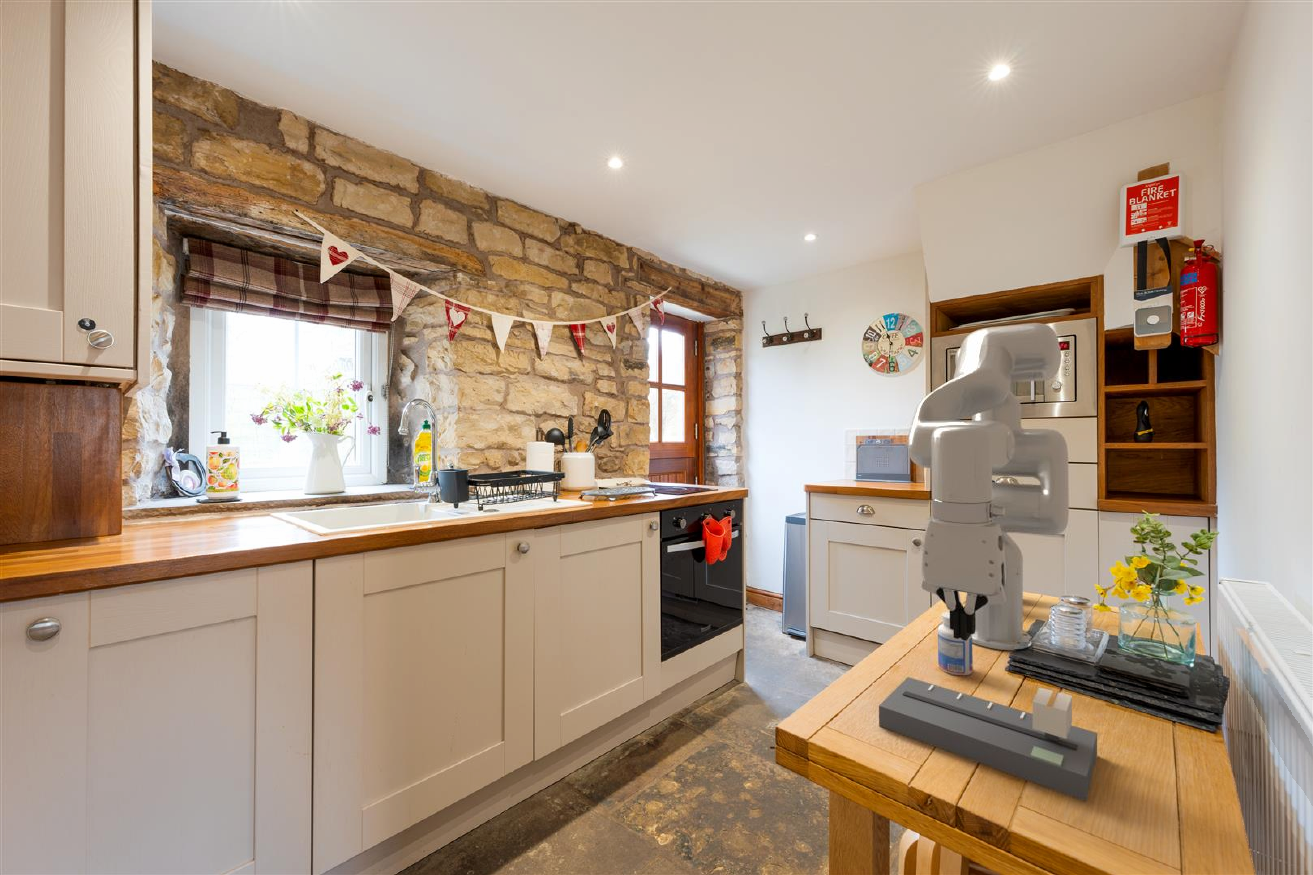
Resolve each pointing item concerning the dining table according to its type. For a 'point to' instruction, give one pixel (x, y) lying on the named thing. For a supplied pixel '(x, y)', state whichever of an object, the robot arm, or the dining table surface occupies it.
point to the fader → (1052, 713)
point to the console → (991, 736)
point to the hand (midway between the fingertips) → (962, 636)
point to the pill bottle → (953, 650)
